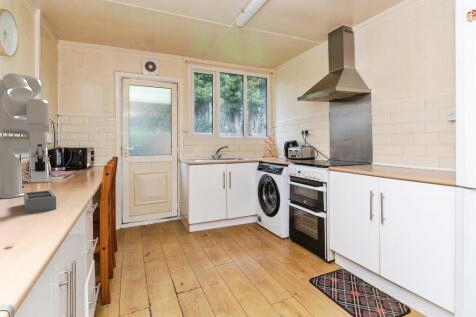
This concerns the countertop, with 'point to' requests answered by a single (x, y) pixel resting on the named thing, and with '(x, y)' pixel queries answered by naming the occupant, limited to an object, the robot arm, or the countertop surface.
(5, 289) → the countertop surface
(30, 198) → the holder
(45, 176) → the syrup box
